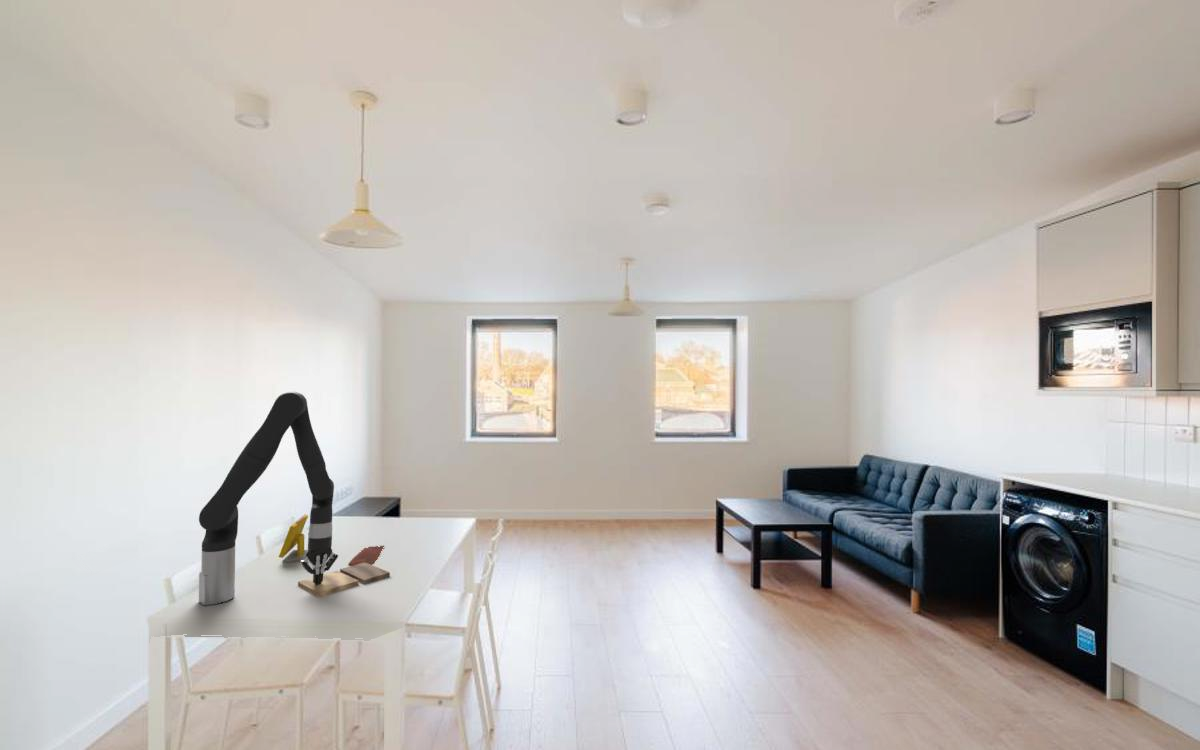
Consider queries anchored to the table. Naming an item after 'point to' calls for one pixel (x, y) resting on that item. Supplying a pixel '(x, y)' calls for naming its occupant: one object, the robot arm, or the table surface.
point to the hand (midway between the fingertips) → (317, 584)
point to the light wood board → (328, 583)
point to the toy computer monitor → (295, 542)
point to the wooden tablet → (366, 556)
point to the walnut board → (365, 573)
